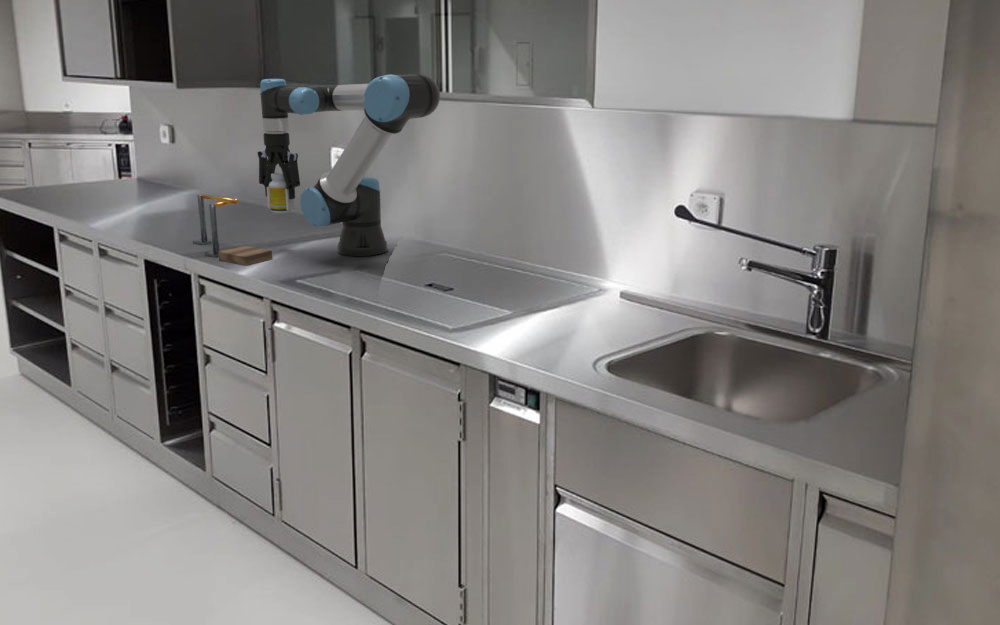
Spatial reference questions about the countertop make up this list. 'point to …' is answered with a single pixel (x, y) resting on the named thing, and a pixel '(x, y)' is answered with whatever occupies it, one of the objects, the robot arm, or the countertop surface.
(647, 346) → the countertop surface
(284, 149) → the robot arm
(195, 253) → the countertop surface
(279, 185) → the pill bottle
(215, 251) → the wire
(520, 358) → the countertop surface
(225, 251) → the pad
